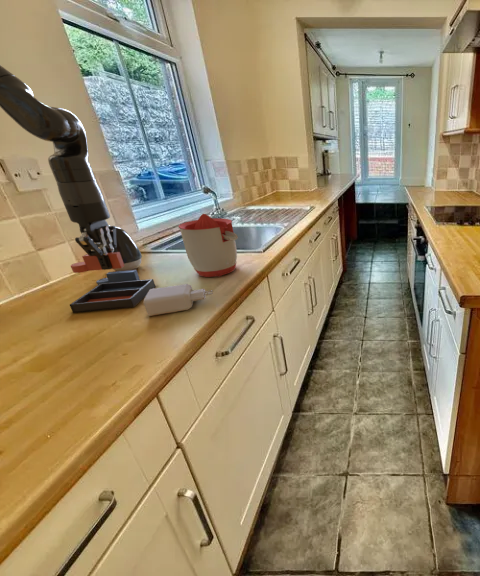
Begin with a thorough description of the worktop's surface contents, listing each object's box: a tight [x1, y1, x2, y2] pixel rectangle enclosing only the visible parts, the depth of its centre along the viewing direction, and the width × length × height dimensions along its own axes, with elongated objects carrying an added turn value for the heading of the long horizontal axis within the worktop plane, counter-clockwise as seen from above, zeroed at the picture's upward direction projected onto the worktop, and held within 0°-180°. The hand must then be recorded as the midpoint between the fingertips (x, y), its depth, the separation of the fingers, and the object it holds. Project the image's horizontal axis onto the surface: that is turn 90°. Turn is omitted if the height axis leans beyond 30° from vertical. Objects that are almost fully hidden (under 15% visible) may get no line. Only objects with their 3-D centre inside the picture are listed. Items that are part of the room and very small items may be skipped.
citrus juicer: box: [177, 213, 239, 278], centre depth 106 cm, size 16×17×20 cm
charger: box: [143, 283, 214, 317], centre depth 86 cm, size 5×9×15 cm
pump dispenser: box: [112, 226, 143, 272], centre depth 110 cm, size 10×10×15 cm
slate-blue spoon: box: [95, 269, 141, 286], centre depth 100 cm, size 4×11×4 cm, turn 103°
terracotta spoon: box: [70, 252, 124, 274], centre depth 83 cm, size 4×11×4 cm, turn 103°
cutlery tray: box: [69, 278, 156, 314], centre depth 90 cm, size 14×14×2 cm
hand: (110, 267), depth 84 cm, fingers closed on terracotta spoon, 2 cm apart
